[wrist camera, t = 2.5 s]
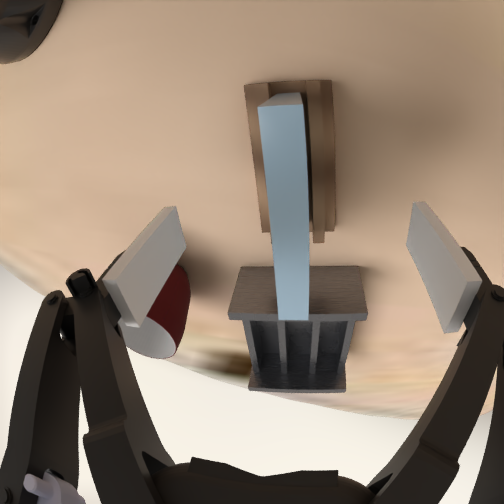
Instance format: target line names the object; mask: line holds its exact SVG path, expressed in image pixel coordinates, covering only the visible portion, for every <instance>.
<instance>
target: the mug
mask: <svg viewBox="0 0 504 504" xmlns="http://www.w3.org/2000/svg"><path fill="white" fill-rule="evenodd" d="M190 297H191V292H190V285H189V281H188V277H187V274H186V272H185V271H184V269H183V268H182V267H180V266H179V265H177V264H176V265H175V267H174V268H173V270H172V272H171V273H170V275H169V277H168V279H167V280H166V282H165V284H164V285H163V287H162V289H161V291H160V292H159V294H158V296H157V297H156V299H155V301H154V303H153V305H152V306H151V308H150V310H149V312H148V313H147V315H146V317H145V319H144V321H143V322H142V324H141V326H140V328H138V327H132V326H126V324H125V322H124V320H123V319H122V317H121V318H120V320H119V321H118V324H119V325H120V327H121V330H122V334H123V338H124V341H125V345H126V346H127V347H128V348H130V349H132V350H133V351H135V352H137V353H139V354H142V355H144V356H147V357H151V358H156V359H165V358H169V357H172V356H173V355H174V354H175V353H176V351H177V348H178V346H179V344H180V341H181V339H182V336H183V333H184V330H185V325H186V320H187V314H188V309H189V303H190Z"/></svg>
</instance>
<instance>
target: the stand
mask: <svg viewBox="0 0 504 504" xmlns="http://www.w3.org/2000/svg"><path fill="white" fill-rule="evenodd" d="M244 91H245V98H246V106H247V113H248V121H249V129H250V137H251V145H252V153H253V161H254V169H255V177H256V185H257V193H258V202H259V210H260V219H261V227H262V233H263V232H270V234H271V227H270V217H269V207H268V197H267V187H266V178H265V169H264V160H263V151H262V142H261V133H260V125H259V116H258V108H257V107H258V106H260V105H261V104H263V103H264V102H266V101H267V100H268V99H270V98H271V97H273V96H274V95H276V94H279V93H298V92H300V95H301V99H302V103H303V111H304V124H305V138H306V154H307V174H308V201H309V232H313V243H324V234H325V231H334V224H335V135H334V113H333V96H332V83H331V80H307V81H284V82H270V83H259V84H249V85H244ZM271 244H272V237H271Z"/></svg>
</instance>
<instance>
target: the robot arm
mask: <svg viewBox="0 0 504 504" xmlns="http://www.w3.org/2000/svg"><path fill="white" fill-rule="evenodd" d="M61 3H62V0H0V64H8V63H13V62H18V61H21V60H23V59H25V58H26V57H27V56H29V55H30V54H31V53H32V52H33V51H34V50H35V49H36V48H37V47H38V46H39V44H40V43H41V42H42V40H43V39H44V38H45V36H46V34H47V33H48V31H49V29H50V28H51V26H52V24H53V22H54V20H55V18H56V16H57V13H58V11H59V9H60V6H61ZM406 246H407V248H408V250H409V252H410V254H411V256H412V258H413V260H414V262H415V264H416V266H417V269H418V271H419V273H420V275H421V277H422V280H423V282H424V284H425V286H426V289H427V291H428V293H429V296H430V298H431V301H432V303H433V306H434V308H435V311H436V313H437V316H438V318H439V321H440V324H441V327H442V329H443V332H444V333H451V332H458V331H459V329H460V327H461V325H462V323H463V321H464V324H465V326H466V330H465V332H464V334H463V336H462V337H461V339H460V341H459V342H458V344H457V346H458V348H457V350H456V352H455V355H454V357H453V359H452V361H451V363H450V365H449V367H448V369H447V371H446V373H445V375H444V377H443V379H442V381H441V383H440V385H439V387H438V389H437V391H436V392H435V394H434V396H433V398H432V399H431V401H430V403H429V405H428V406H427V408H426V410H425V411H424V413H423V415H422V416H421V418H420V419H419V421H418V423H417V424H416V426H415V427H414V429H413V430H412V432H411V433H410V435H409V436H408V437H407V439H406V440H405V442H404V443H403V444H402V446H401V447H400V448H399V450H398V451H397V452H396V454H395V455H394V456H393V458H392V459H391V460H390V462H389V463H388V464H387V465H386V466H385V467H384V468H383V469H382V470H381V471H380V472H379V473H378V474H377V475H376V477H374V478H373V480H372V481H371V482H370V483H369V484H368V485H367V486H366V487H365V486H364V485H362V484H361V483H359V482H357V481H354V480H352V479H349V478H346V477H342V476H338V470H329V471H328V470H327V471H303V470H302V471H296V472H291V473H285V474H278V475H272V476H265V477H264V476H258V475H255V474H252V473H249V472H246V471H243V470H241V469H238V468H236V467H233V466H231V465H228V464H226V463H220V462H215V461H210V460H204V459H200V458H195V457H192V458H191V462H190V463H180V464H176V465H175V463H174V461H173V460H172V458H171V457H170V456H169V454H168V453H167V452H166V451H165V449H164V447H163V445H162V443H161V441H160V439H159V437H158V434H157V432H156V430H155V427H154V425H153V422H152V420H151V417H150V415H149V413H148V410H147V408H146V405H145V402H144V400H143V397H142V394H141V391H140V388H139V386H138V383H137V380H136V377H135V374H134V371H133V368H132V365H131V362H130V358H129V355H128V352H127V348H126V345H125V341H124V338H123V334H122V330H121V327H120V325H119V324H118V321H119V320H120V318H121V317H122V319H123V320H124V322H125V324H126V326H132V327H138V328H140V326H141V324H142V322H143V321H144V319H145V317H146V315H147V313H148V312H149V310H150V308H151V306H152V305H153V303H154V301H155V299H156V297H157V296H158V294H159V292H160V291H161V289H162V287H163V285H164V284H165V282H166V280H167V279H168V277H169V275H170V273H171V272H172V270H173V268H174V267H175V265H176V263H177V262H178V260H179V258H180V257H181V255H182V254H183V252H184V250H185V249H186V247H187V246H186V243H185V239H184V235H183V232H182V228H181V224H180V220H179V216H178V212H177V208H176V206H172V207H164V208H163V209H162V210H161V211H160V212H159V213H158V214H157V216H156V217H155V218H154V219H153V220H152V221H151V222H150V223H149V224H148V225H147V227H146V228H145V229H144V230H143V231H142V232H141V233H140V234H139V236H138V237H137V238H136V239H135V240H134V241H133V243H132V244H131V245H130V246H129V247H128V248H127V250H125V251H124V252H122V253H121V254H119V255H118V256H117V257H116V258H115V259H114V261H113V262H112V263H111V264H110V265H109V267H108V269H106V270H105V272H104V273H103V274H102V275H101V276H100V278H99V279H98V280H97V281H96V282H95V280H94V278H93V276H92V274H91V272H90V270H89V269H87V268H86V269H80V270H78V271H76V272H74V273H73V274H71V275H70V276H69V277H68V279H67V280H66V285H67V287H68V289H69V290H70V292H71V294H72V296H73V297H69V298H65V296H64V294H63V293H62V291H60V290H56V291H53V292H51V293H50V294H48V295H47V296H46V297H45V299H44V300H43V302H42V304H41V307H40V309H39V312H38V315H37V317H36V320H35V323H34V326H33V329H32V332H31V335H30V338H29V341H28V344H27V348H26V351H25V355H24V358H23V362H22V366H21V370H20V374H19V378H18V382H17V387H16V391H15V396H14V401H13V407H12V413H11V419H10V426H9V435H8V444H7V449H6V451H5V455H4V458H3V461H2V464H1V468H0V504H86V503H85V500H84V498H83V497H82V496H80V495H79V494H78V492H77V488H78V478H79V452H78V427H79V403H80V389H81V391H82V397H83V402H84V408H85V413H86V418H87V422H88V426H89V432H88V433H87V434H84V436H83V445H84V449H85V453H86V457H87V460H88V464H89V468H90V471H91V474H92V478H93V481H94V483H95V486H96V490H97V492H98V495H99V498H100V501H101V503H102V504H438V503H439V502H440V500H441V499H442V497H443V496H444V494H445V493H446V491H447V490H448V488H449V487H450V485H451V483H452V482H453V480H454V478H455V477H456V475H457V473H458V471H459V466H460V465H459V463H458V459H459V457H460V454H461V453H462V451H463V448H464V447H465V445H466V443H467V441H468V439H469V437H470V435H471V433H472V431H473V428H474V426H475V424H476V422H477V419H478V417H479V415H480V412H481V410H482V407H483V405H484V402H485V400H486V397H487V394H488V392H489V389H490V386H491V383H492V380H493V377H494V374H495V370H496V367H497V380H496V391H495V399H494V407H493V414H492V420H491V425H490V430H489V436H488V440H487V445H486V449H485V453H484V456H483V460H482V464H481V467H480V471H479V474H478V477H477V480H476V483H475V486H474V489H473V492H472V495H471V498H470V501H469V504H504V288H502V287H501V286H498V285H493V284H492V283H491V281H490V280H489V278H488V276H487V275H486V273H485V272H484V270H483V269H482V267H480V264H479V263H478V261H477V260H476V258H475V257H474V255H473V254H472V253H471V252H470V251H469V250H467V249H466V248H465V247H460V246H459V244H458V243H457V242H456V240H455V239H454V237H453V236H452V235H451V233H450V232H449V231H448V229H447V228H446V227H445V225H444V224H443V223H442V222H441V220H440V219H439V218H438V216H437V215H436V214H435V213H434V211H433V210H432V209H431V208H430V207H429V205H428V204H427V203H426V202H420V201H413V207H412V214H411V220H410V226H409V232H408V237H407V243H406ZM60 333H61V334H62V339H61V337H60ZM497 364H498V365H497Z"/></svg>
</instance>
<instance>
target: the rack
mask: <svg viewBox="0 0 504 504" xmlns="http://www.w3.org/2000/svg"><path fill="white" fill-rule="evenodd" d="M367 315H368V311H367V306H366V301H365V296H364V291H363V286H362V282H361V277H360V273H359V268H358V266H324V267H309V313H308V320H279V318H278V305H277V293H276V281H275V270H274V267H241V269H240V272H239V276H238V279H237V282H236V286H235V289H234V293H233V296H232V300H231V303H230V306H229V310H228V316H229V319H230V320H242V321H243V326H244V330H245V335H246V340H247V344H248V349H249V353H250V358H251V362H252V369H251V374H250V380H249V385H248V389H249V390H250V391H264V392H285V393H342V392H345V391H346V374H345V363H346V359H347V355H348V351H349V346H350V342H351V338H352V333H353V329H354V324H355V321H363V320H366V319H367Z"/></svg>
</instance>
